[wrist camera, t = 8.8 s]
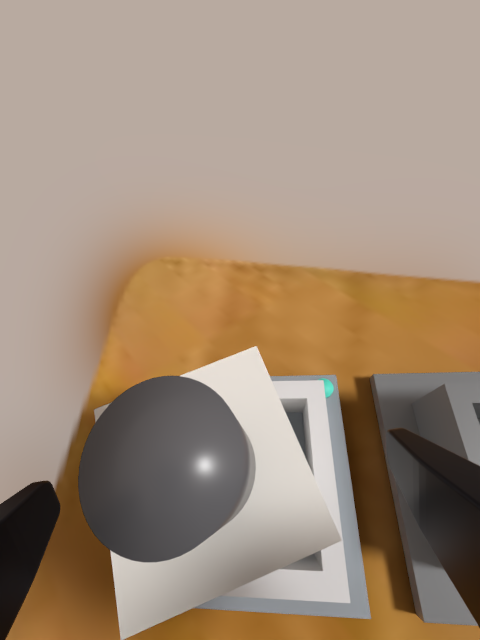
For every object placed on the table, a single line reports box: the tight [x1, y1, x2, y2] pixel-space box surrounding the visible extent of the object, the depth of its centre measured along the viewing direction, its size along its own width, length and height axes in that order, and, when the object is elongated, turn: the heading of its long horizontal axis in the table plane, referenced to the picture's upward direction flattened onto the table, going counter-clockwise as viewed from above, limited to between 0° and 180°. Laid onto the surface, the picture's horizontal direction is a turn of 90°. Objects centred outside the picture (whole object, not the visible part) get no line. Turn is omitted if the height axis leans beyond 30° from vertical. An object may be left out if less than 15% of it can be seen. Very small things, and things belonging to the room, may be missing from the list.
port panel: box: [194, 375, 371, 619], centre depth 14 cm, size 10×10×4 cm
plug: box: [78, 346, 342, 640], centre depth 9 cm, size 4×4×12 cm
